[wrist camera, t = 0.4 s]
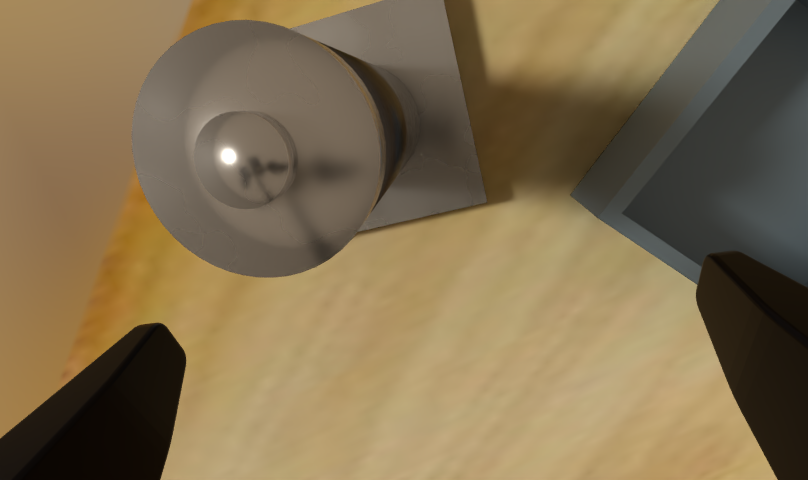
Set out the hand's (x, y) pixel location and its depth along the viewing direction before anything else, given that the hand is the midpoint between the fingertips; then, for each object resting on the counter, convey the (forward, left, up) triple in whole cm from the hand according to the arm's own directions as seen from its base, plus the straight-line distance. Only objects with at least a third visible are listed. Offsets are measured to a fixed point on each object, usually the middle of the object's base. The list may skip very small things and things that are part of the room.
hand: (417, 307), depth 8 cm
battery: (0, +4, -14) cm, 14 cm away
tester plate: (0, +4, -15) cm, 15 cm away
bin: (+8, -11, -15) cm, 20 cm away
